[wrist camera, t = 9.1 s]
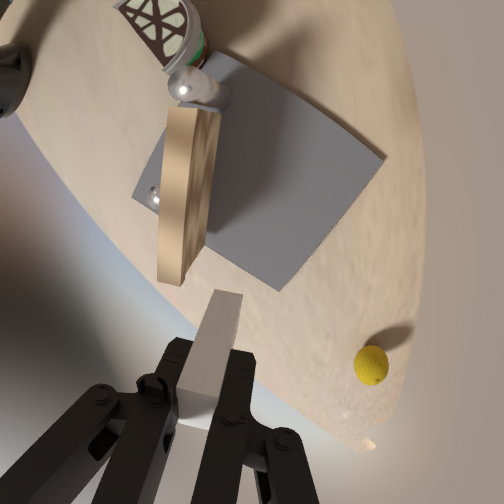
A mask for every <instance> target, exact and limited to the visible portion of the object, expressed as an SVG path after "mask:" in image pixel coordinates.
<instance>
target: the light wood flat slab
mask: <svg viewBox="0 0 504 504" xmlns="http://www.w3.org/2000/svg"><path fill="white" fill-rule="evenodd" d="M221 117H222V114H219V113H215V112H210V111H206V110H203V109H198V108H185V107H169V111H168V119H167V126H166V134H165V143H164V152H163V163H162V174H161V186H160V201H159V221H158V254H157V281H158V282H163V283H167V284H171V285H175V286H179V287H181V285H182V283H183V282H184V280H185V274H186V272H187V271H188V269H189V267H190V266H191V264H192V263H193V261H194V260H195V258H196V257H197V255H198V254H199V252H200V251H201V249H202V248H203V246H204V245H205V238H206V229H207V220H208V211H209V203H210V194H211V187H212V179H213V171H214V164H215V157H216V150H217V143H218V136H219V130H220V124H221Z"/></svg>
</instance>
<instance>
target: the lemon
mask: <svg viewBox="0 0 504 504" xmlns="http://www.w3.org/2000/svg"><path fill="white" fill-rule="evenodd" d="M354 368H355V372H356V375H357V377H358V378H359V380H360V381H361V382H362V383H364V384H366V385H376V384H379V383H380V382H382V381H383V380H384V379H385V377H386V376H387V374H388V369H389V364H388V358H387V356H386V354H385V352H384V351H383V350H382V349H381V348H380V347H378V346H374V345H369V346H366V347H363V348H362V349H361V350H360V351H359V352H358V353H357V355H356V357H355V360H354Z"/></svg>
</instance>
